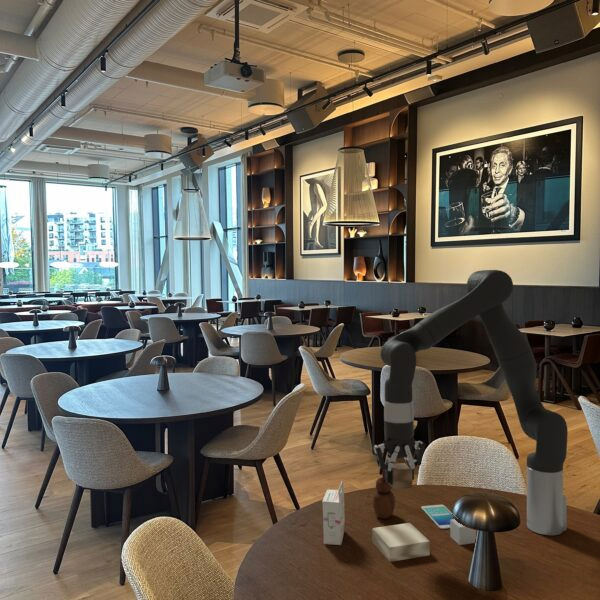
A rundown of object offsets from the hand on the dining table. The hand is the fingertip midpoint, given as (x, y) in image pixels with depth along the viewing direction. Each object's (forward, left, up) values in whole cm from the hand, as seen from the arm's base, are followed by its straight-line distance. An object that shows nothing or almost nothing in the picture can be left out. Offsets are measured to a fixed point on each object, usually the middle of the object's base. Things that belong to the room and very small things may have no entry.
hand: (399, 482), depth 142 cm
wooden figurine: (-3, -19, -18) cm, 26 cm away
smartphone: (-19, -14, -18) cm, 30 cm away
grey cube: (-18, 0, -17) cm, 25 cm away
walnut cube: (0, 0, -1) cm, 1 cm away
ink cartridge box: (+15, -10, -18) cm, 25 cm away
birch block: (0, 0, -18) cm, 18 cm away
